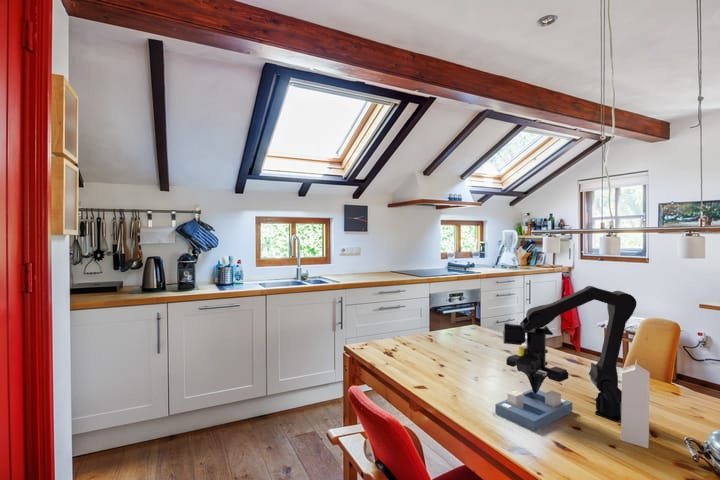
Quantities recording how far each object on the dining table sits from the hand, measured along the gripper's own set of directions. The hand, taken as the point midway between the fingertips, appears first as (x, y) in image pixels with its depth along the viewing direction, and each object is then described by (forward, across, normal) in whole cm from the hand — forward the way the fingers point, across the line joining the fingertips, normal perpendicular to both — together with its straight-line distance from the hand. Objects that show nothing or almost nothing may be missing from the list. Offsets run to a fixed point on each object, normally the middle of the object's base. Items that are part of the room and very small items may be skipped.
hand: (535, 392), depth 122 cm
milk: (+4, +27, +4) cm, 28 cm away
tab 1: (+3, -1, -10) cm, 10 cm away
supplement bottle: (+5, -23, +33) cm, 40 cm away
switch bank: (+4, +2, -5) cm, 7 cm away
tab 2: (+3, +6, 0) cm, 7 cm away
